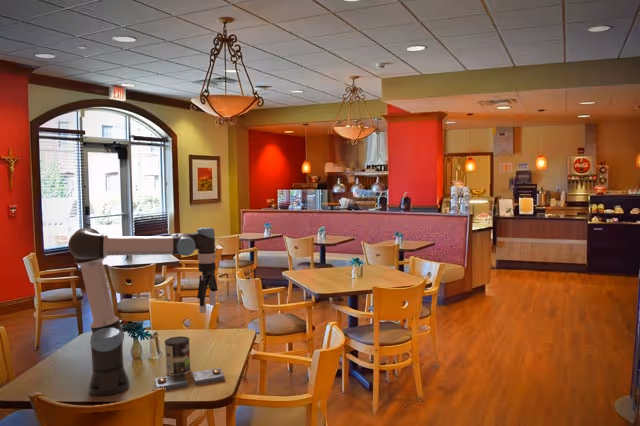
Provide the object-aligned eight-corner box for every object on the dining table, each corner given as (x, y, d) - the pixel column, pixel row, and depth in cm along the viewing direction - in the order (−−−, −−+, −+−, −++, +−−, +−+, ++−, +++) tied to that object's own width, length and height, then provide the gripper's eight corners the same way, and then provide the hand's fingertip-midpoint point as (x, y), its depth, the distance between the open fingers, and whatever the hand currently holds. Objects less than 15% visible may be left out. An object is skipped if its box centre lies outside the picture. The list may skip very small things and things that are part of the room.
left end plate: (156, 392, 209) (156, 384, 209) (154, 382, 218) (154, 375, 218) (187, 386, 213) (187, 379, 213) (184, 378, 222) (184, 371, 222)
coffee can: (194, 367, 234) (193, 336, 233) (184, 376, 224) (182, 344, 223) (173, 366, 236) (171, 335, 235) (161, 375, 226) (160, 343, 225)
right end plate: (195, 385, 214) (194, 378, 214) (191, 376, 224) (191, 370, 223) (224, 380, 219) (224, 373, 218) (220, 372, 228) (219, 365, 228)
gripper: (205, 267, 223) (207, 316, 225) (223, 257, 248) (224, 302, 250) (188, 267, 224) (190, 316, 226) (207, 257, 249) (209, 302, 251)
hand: (208, 309), depth 238 cm, fingers open, 13 cm apart
